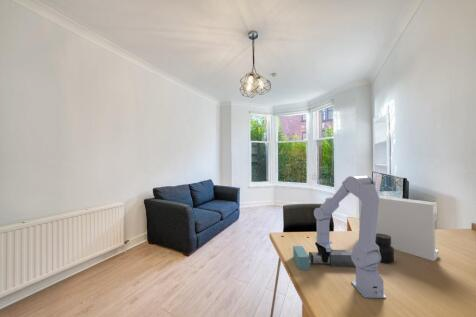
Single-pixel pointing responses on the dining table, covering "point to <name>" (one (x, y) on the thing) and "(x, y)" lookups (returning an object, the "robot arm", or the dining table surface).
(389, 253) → the ink bottle
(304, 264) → the socket block
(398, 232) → the block
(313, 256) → the grey square bar
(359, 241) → the robot arm
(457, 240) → the dining table surface
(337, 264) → the dark grey rectangular bar
